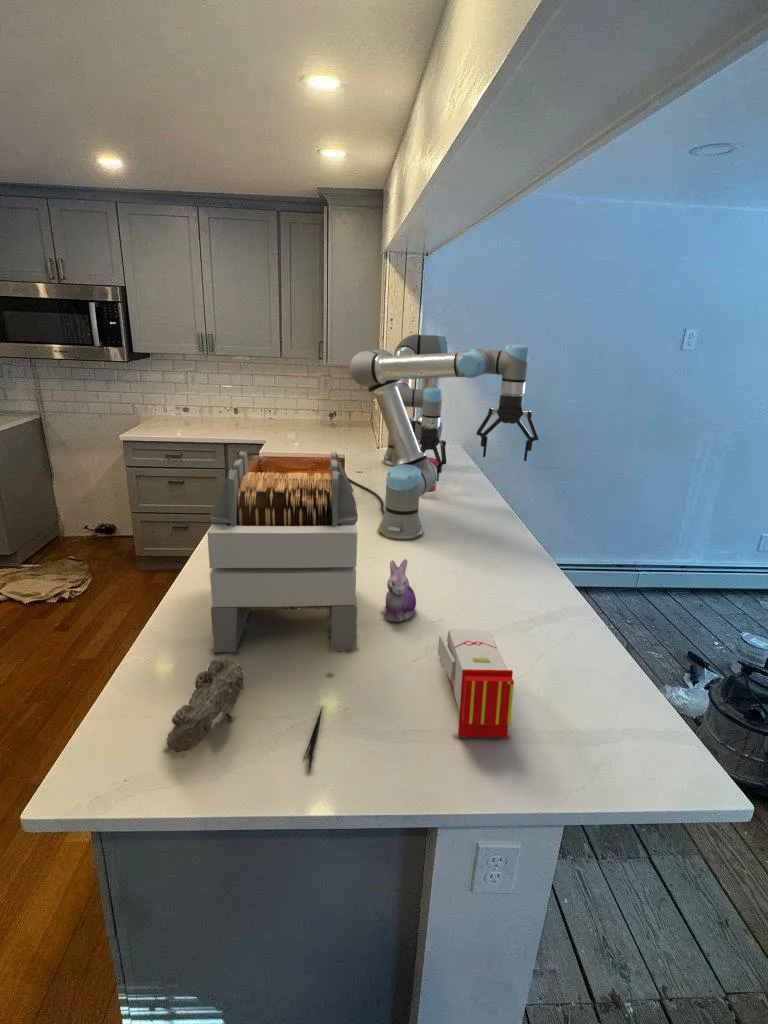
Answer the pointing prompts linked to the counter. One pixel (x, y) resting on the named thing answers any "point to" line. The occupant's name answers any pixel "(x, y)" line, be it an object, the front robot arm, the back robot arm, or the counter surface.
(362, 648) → the counter surface
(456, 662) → the toy
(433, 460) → the cylinder
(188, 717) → the grey rough elongated piece
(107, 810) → the counter surface
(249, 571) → the grey record crate stand
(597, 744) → the counter surface
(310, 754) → the feather
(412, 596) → the figurine
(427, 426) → the back robot arm
